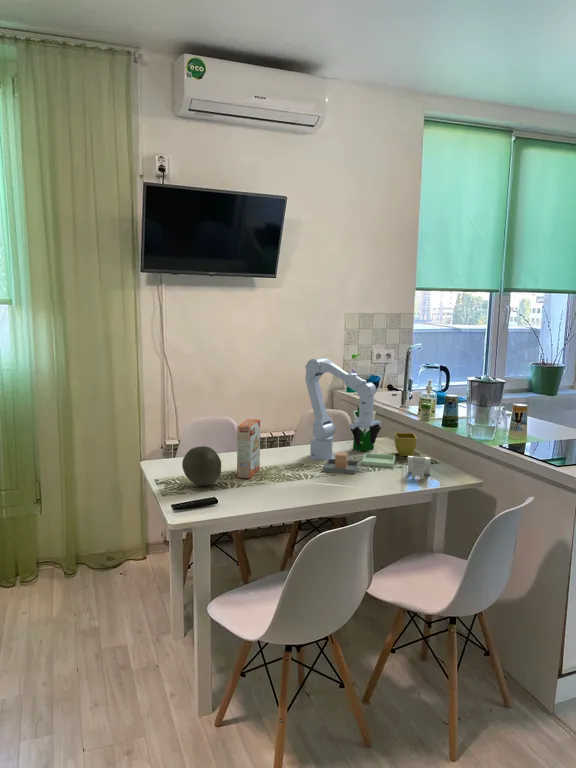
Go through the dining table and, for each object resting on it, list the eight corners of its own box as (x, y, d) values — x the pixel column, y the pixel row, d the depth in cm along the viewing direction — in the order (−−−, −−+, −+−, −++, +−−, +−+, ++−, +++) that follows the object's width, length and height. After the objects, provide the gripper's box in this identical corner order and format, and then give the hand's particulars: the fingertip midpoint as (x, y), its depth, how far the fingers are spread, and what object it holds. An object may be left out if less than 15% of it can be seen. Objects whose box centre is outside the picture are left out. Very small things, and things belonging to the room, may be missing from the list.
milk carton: (350, 449, 267) (351, 407, 264) (361, 445, 273) (362, 404, 270) (365, 453, 261) (366, 409, 258) (377, 449, 268) (378, 407, 264)
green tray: (361, 466, 241) (361, 461, 241) (365, 457, 254) (365, 452, 253) (393, 468, 238) (393, 463, 238) (395, 460, 251) (395, 455, 250)
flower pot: (416, 457, 254) (417, 438, 253) (396, 457, 254) (397, 437, 253) (412, 452, 263) (413, 433, 262) (393, 452, 263) (394, 432, 262)
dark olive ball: (201, 477, 226) (201, 440, 223) (229, 484, 218) (228, 446, 215) (175, 487, 214) (174, 448, 212) (203, 495, 206) (202, 454, 204)
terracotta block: (335, 469, 235) (335, 454, 234) (336, 465, 240) (337, 452, 239) (346, 470, 234) (346, 455, 233) (347, 466, 238) (348, 452, 237)
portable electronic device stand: (430, 474, 232) (431, 454, 230) (428, 480, 224) (429, 459, 223) (408, 472, 234) (409, 452, 233) (406, 478, 227) (407, 457, 226)
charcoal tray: (322, 472, 232) (322, 467, 232) (328, 463, 245) (328, 458, 244) (354, 475, 229) (355, 470, 229) (359, 466, 242) (359, 461, 241)
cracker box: (251, 479, 224) (251, 426, 220) (236, 478, 225) (236, 426, 222) (260, 468, 237) (260, 419, 234) (246, 467, 239) (246, 418, 235)
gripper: (357, 415, 231) (356, 448, 233) (386, 412, 238) (385, 444, 240) (347, 412, 237) (346, 444, 239) (375, 409, 244) (374, 440, 246)
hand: (365, 444), depth 240 cm, fingers open, 7 cm apart
